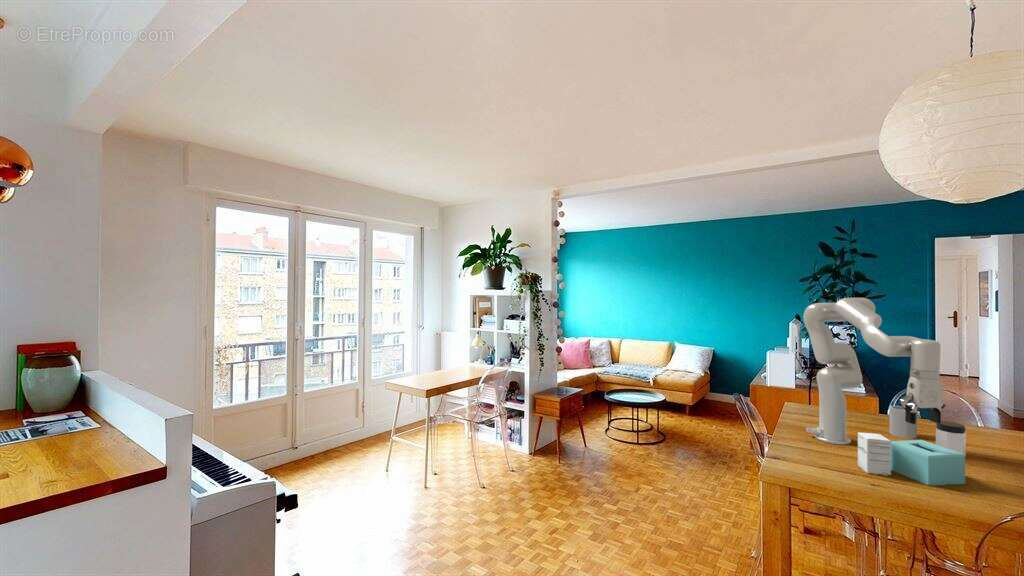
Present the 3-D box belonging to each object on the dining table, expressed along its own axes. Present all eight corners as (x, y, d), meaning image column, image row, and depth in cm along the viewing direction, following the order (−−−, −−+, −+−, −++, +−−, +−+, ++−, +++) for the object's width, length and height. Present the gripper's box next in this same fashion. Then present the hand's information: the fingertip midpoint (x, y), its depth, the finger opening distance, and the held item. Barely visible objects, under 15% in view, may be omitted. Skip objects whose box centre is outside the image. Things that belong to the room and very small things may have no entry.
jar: (962, 459, 169) (962, 428, 169) (933, 452, 175) (933, 423, 175) (968, 454, 173) (968, 424, 173) (940, 448, 180) (940, 419, 180)
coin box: (928, 485, 146) (928, 455, 146) (887, 468, 160) (887, 441, 160) (965, 483, 148) (965, 454, 148) (922, 466, 161) (922, 439, 161)
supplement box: (857, 465, 163) (857, 431, 163) (880, 468, 160) (880, 433, 160) (866, 473, 155) (866, 438, 156) (891, 476, 153) (891, 440, 153)
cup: (888, 430, 203) (888, 404, 203) (915, 434, 198) (915, 407, 198) (891, 435, 196) (891, 409, 196) (918, 439, 191) (918, 412, 191)
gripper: (913, 377, 149) (911, 426, 150) (958, 376, 151) (956, 425, 152) (892, 372, 157) (890, 419, 157) (934, 371, 159) (933, 418, 159)
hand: (922, 422), depth 154 cm, fingers open, 9 cm apart
